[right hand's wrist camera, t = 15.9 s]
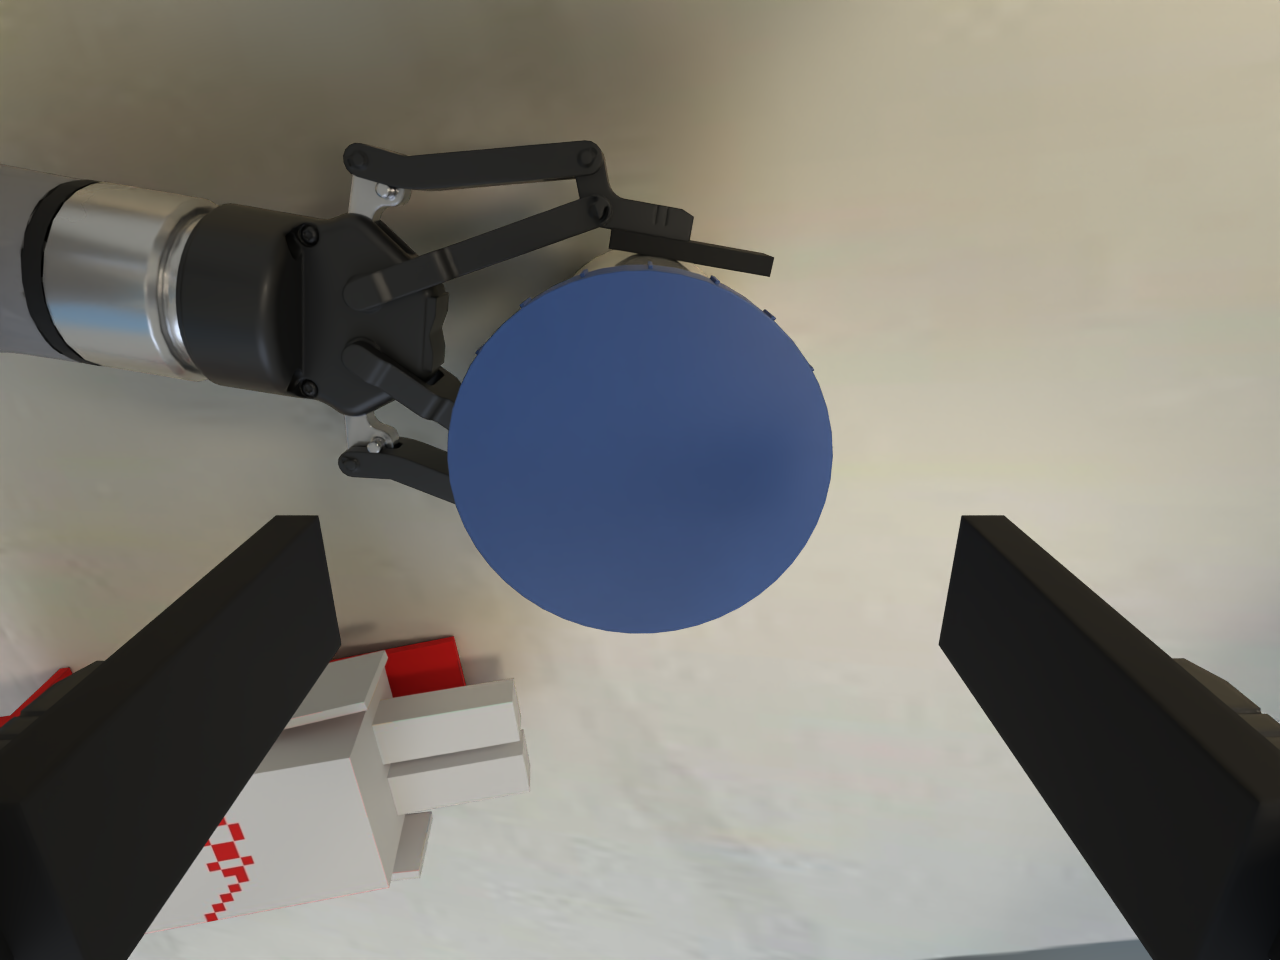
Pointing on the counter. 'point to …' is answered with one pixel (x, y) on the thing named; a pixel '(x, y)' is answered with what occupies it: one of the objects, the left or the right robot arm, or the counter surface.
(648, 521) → the lid
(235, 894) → the toy
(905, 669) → the counter surface
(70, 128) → the counter surface
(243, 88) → the counter surface
